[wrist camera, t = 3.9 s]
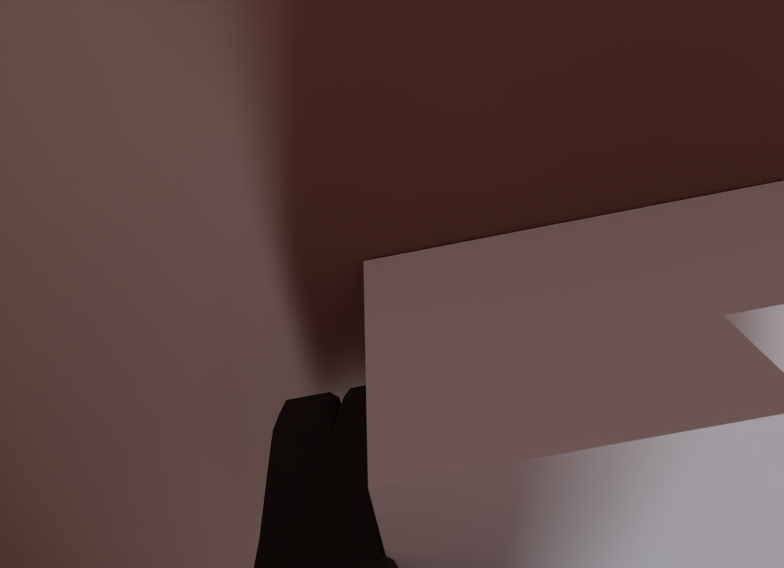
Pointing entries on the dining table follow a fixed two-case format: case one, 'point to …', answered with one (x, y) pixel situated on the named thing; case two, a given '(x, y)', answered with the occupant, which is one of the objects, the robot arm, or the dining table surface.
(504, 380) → the pale grey notched block
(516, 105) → the dining table surface
